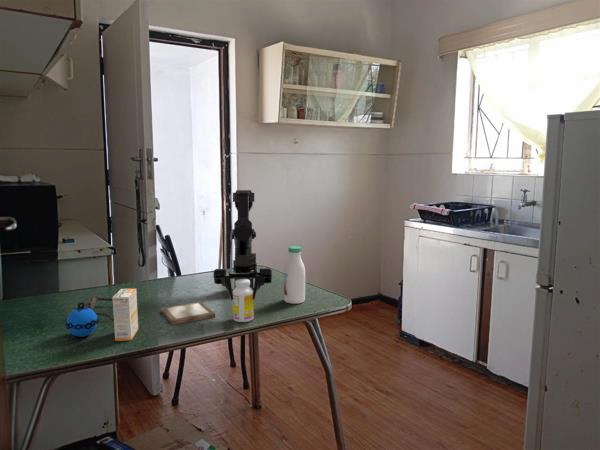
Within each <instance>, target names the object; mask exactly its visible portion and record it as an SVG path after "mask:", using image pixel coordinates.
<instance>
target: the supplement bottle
mask: <svg viewBox="0 0 600 450" xmlns="http://www.w3.org/2000/svg"><path fill="white" fill-rule="evenodd" d="M235 285H236V288H234V287H233V289H232V297H233V299H232V318H233V319H232V320H233V321H235V322H237V323H248V322H251V321H252V320H253V319H254V317H255V316H254V300H253V291H254V290H253V289H252V288H250V287H249V285H250V280H248V279H238V280H236V281H235Z"/></svg>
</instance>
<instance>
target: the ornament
mask: <svg viewBox="0 0 600 450" xmlns="http://www.w3.org/2000/svg"><path fill="white" fill-rule="evenodd" d="M81 304H82V306H81V307H80V305H81ZM78 307H79V308H78ZM96 313H97V312H95V311H94V310H93V309H92V310H91V309H90V307H87V308H86V307H84V303H82V302H79V303H78V305H77V308H74V309H73V310H72V311H71V312H70V313H69V314H68V315H67V319H66V320H65V328H66V330H68V333H70V334H71V335H73V336H75V337H79V338H82V337H87V336H89V335H90V334H92V333H93V332H94V331H95V330H96V328H97V326H98V325H99V315H96Z"/></svg>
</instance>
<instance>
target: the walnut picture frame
mask: <svg viewBox="0 0 600 450" xmlns="http://www.w3.org/2000/svg"><path fill="white" fill-rule="evenodd" d="M160 312H161V313H162V315H163V316H164V317H165V318H166V319H167V320H168V321H169V323H171V325H173V326H174V325H179V324H184V323H185V324H186V323H191V322H195V321H201V320H207V319H212V318H216V313H215V312H214V311H213V310H212V309H211V308H209V307H208V306H207V305H206V304H204V303H203V301H197V302H190V303H186V304H185V303H183V304H178V305H173V306H167V307H160Z"/></svg>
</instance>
